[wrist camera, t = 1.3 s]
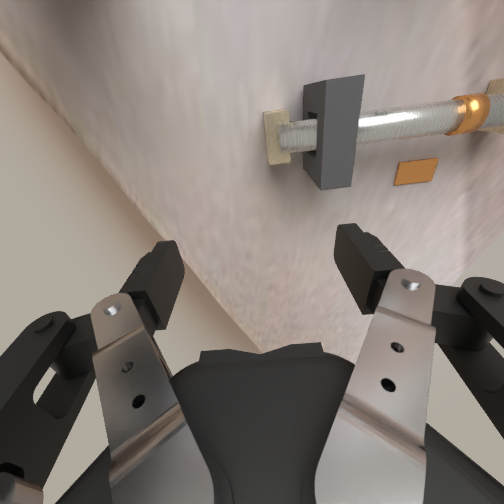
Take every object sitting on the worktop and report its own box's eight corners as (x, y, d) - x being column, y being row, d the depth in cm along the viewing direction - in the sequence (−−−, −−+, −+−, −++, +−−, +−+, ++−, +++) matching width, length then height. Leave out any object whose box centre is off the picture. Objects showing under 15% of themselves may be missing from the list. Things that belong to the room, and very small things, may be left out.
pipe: (270, 199, 33) (274, 219, 28) (263, 111, 27) (267, 115, 22) (472, 175, 32) (520, 191, 26) (513, 76, 26) (587, 70, 20)
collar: (303, 167, 31) (320, 190, 23) (303, 85, 26) (326, 79, 18) (325, 165, 30) (350, 186, 23) (330, 81, 25) (364, 74, 18)
